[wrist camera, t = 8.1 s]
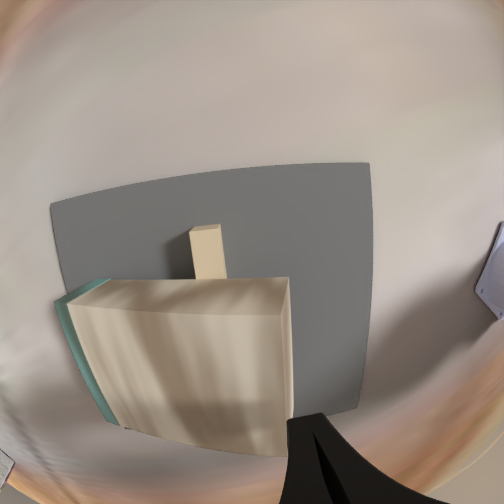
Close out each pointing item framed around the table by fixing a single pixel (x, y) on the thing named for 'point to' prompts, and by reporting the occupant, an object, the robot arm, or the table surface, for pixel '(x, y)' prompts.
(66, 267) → the rubber mat
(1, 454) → the candy bar box
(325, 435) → the robot arm
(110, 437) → the table surface
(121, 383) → the ash slab
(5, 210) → the table surface
